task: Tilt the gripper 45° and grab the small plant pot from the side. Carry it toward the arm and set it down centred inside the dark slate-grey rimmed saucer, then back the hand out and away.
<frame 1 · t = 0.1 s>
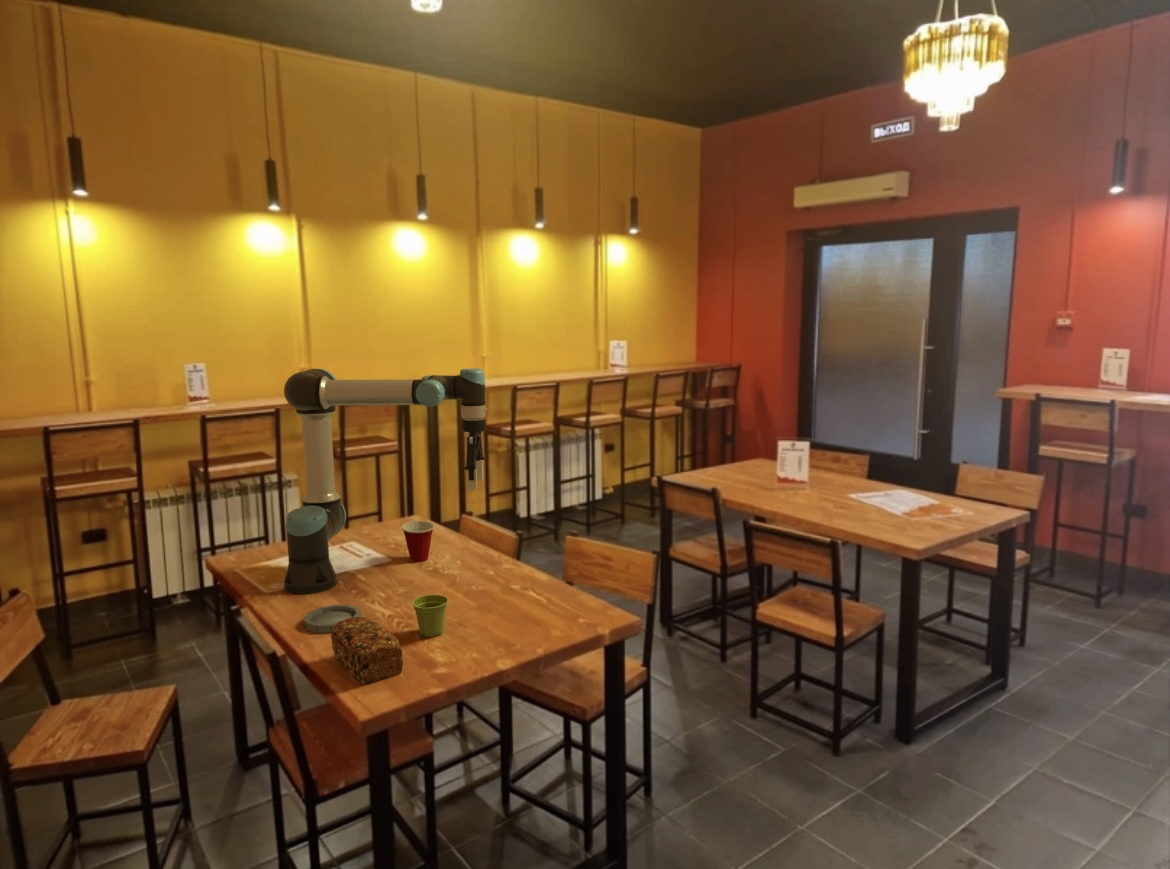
hand: (475, 485, 247), 28 cm above the table, tool pointing down, fingers open, 13 cm apart
plastic cup: (419, 560, 263), on the table
saucer: (333, 621, 211), on the table
plant pot: (431, 633, 204), on the table
bread: (367, 667, 186), on the table
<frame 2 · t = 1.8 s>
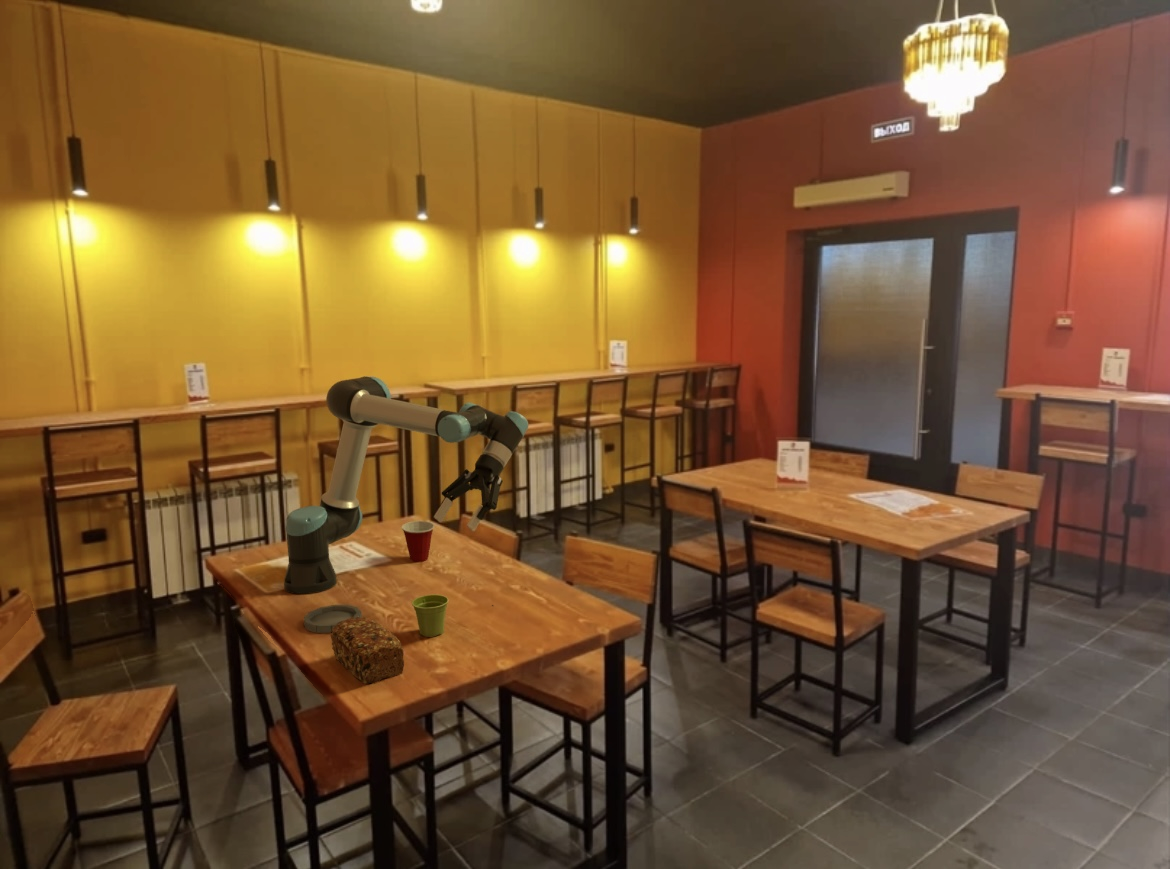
hand: (453, 524, 211), 26 cm above the table, tool tilted 45°, fingers open, 13 cm apart
nothing on the table moved.
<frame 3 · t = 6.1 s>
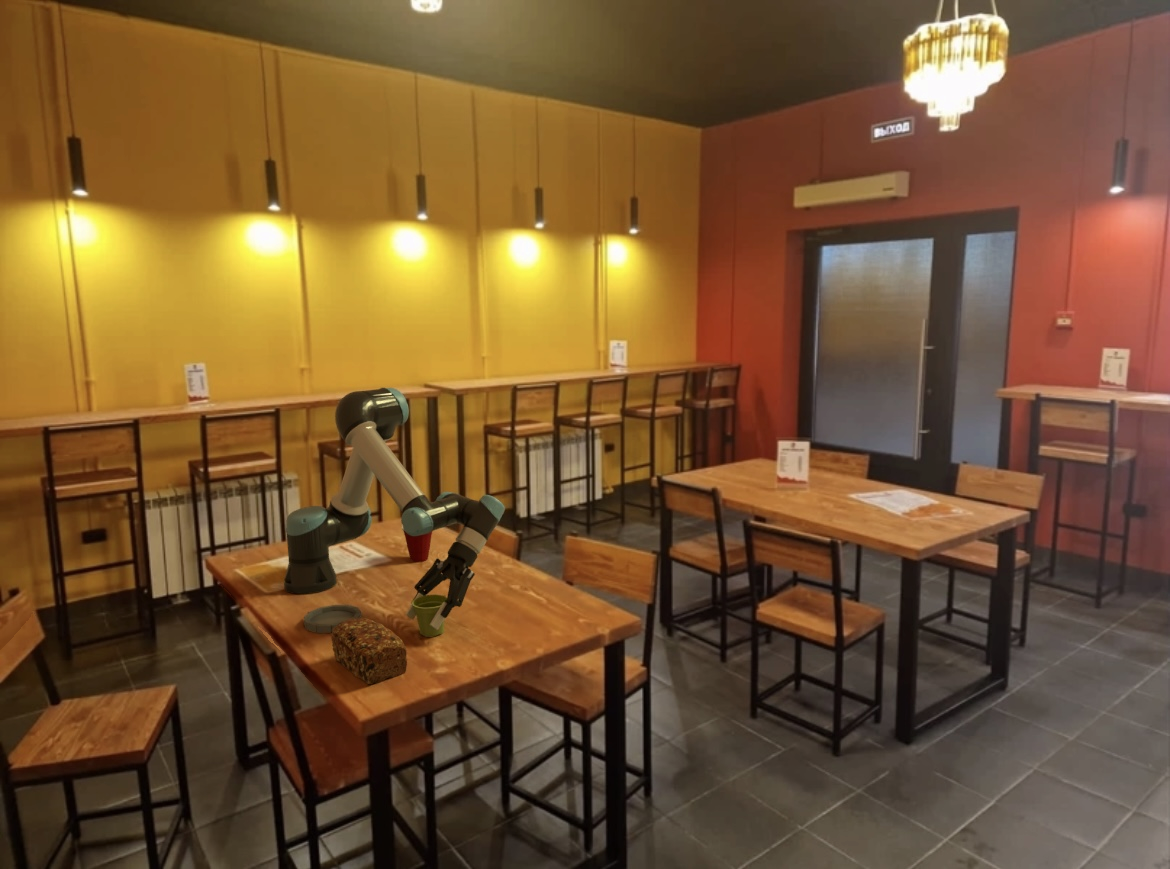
hand: (421, 622, 201), 4 cm above the table, tool tilted 45°, fingers closed on plant pot, 9 cm apart
plant pot: (431, 633, 204), on the table, touching gripper
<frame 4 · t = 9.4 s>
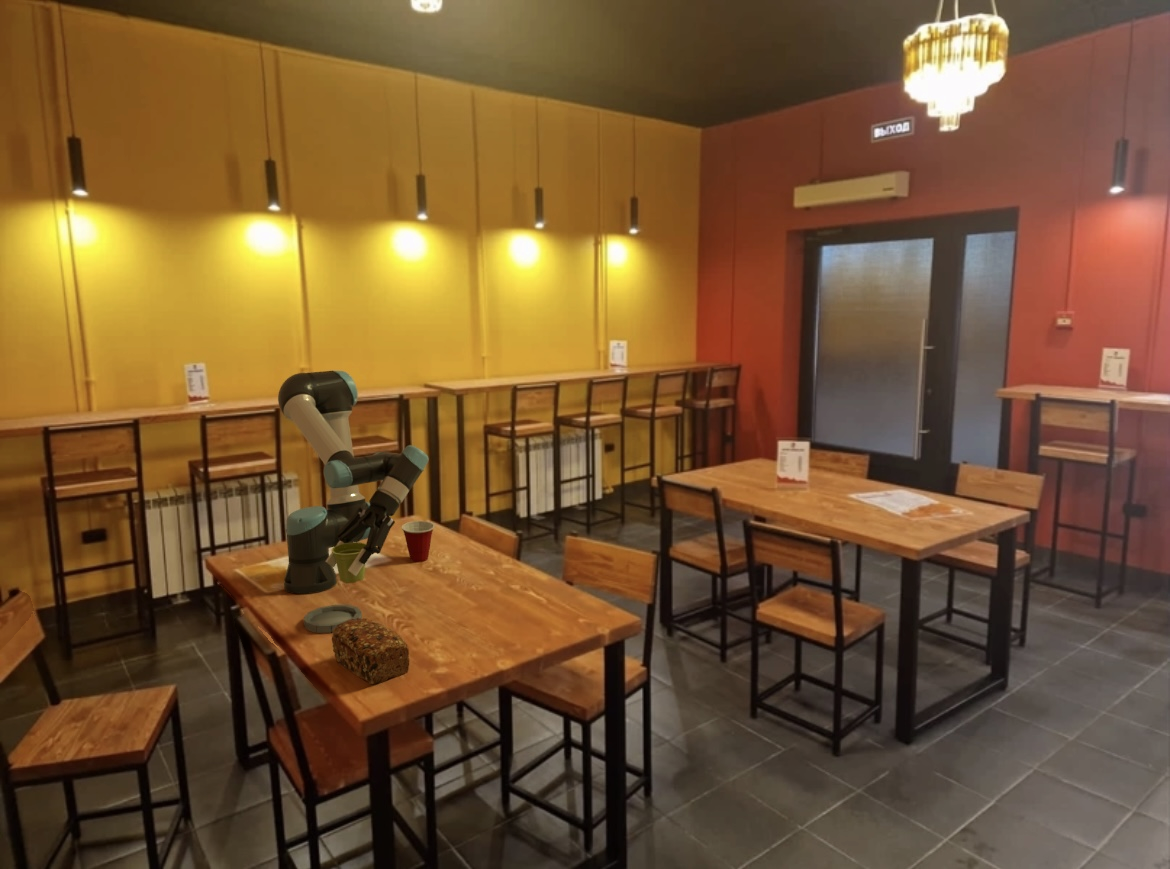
hand: (340, 568, 203), 17 cm above the table, tool tilted 45°, fingers closed on plant pot, 9 cm apart
plant pot: (352, 580, 207), point 13 cm above the table, touching gripper
when the fingers open (6 cm above the table, at t = 12.3 s): plant pot drops 1 cm, resting on saucer.
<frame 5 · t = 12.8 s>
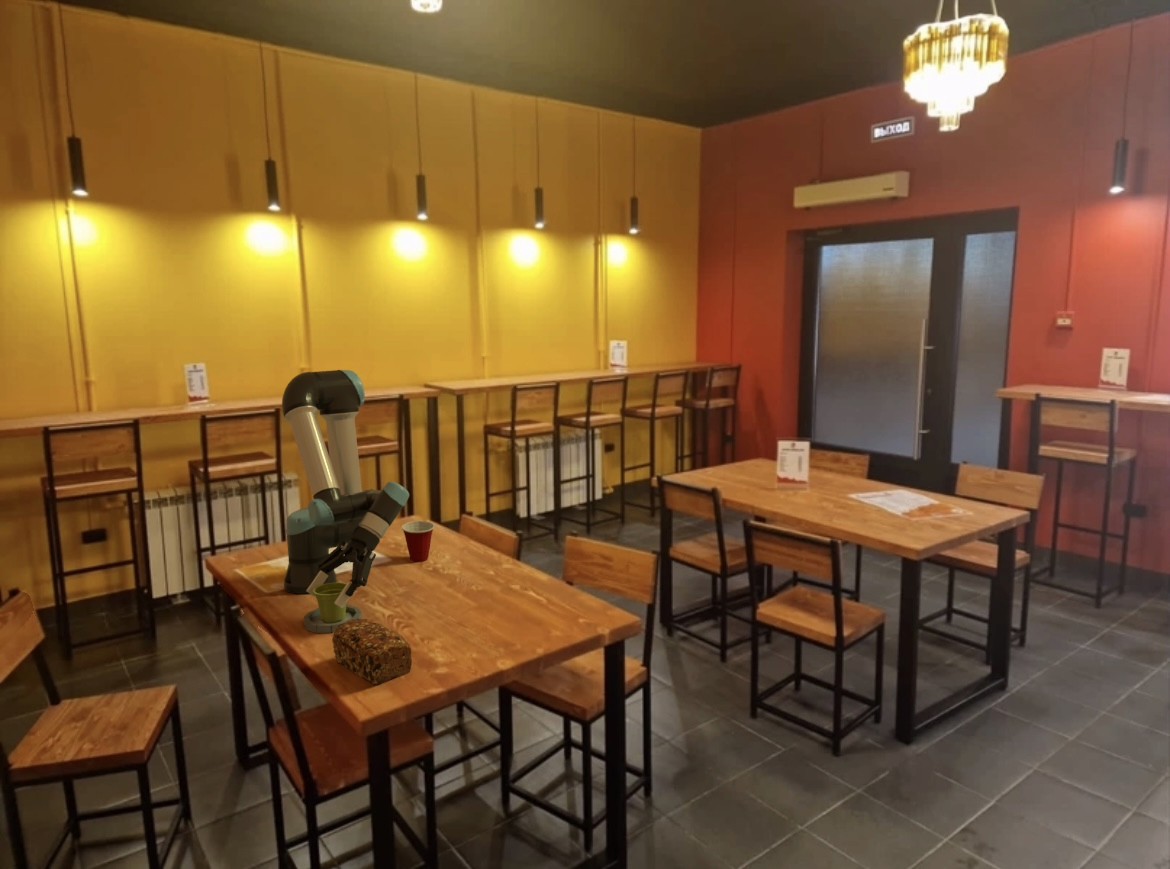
hand: (323, 599, 209), 7 cm above the table, tool tilted 45°, fingers open, 13 cm apart
plant pot: (333, 619, 211), point 1 cm above the table, touching saucer
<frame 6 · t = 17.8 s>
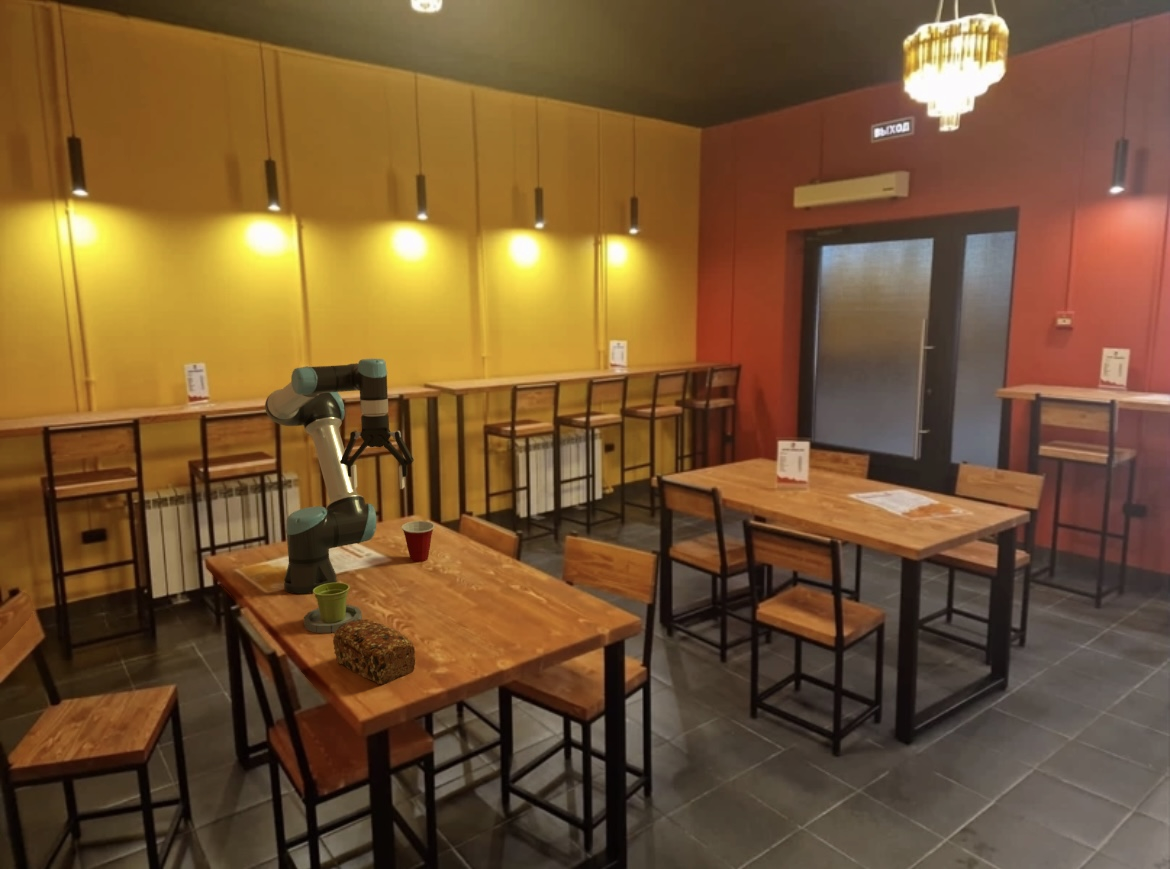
hand: (378, 488, 224), 33 cm above the table, tool pointing down, fingers open, 13 cm apart
at the end: plant pot 0.1 cm off-centre on the saucer, point 0.6 cm above the saucer's base; plant pot tilted 0°; the gripper is holding nothing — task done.
